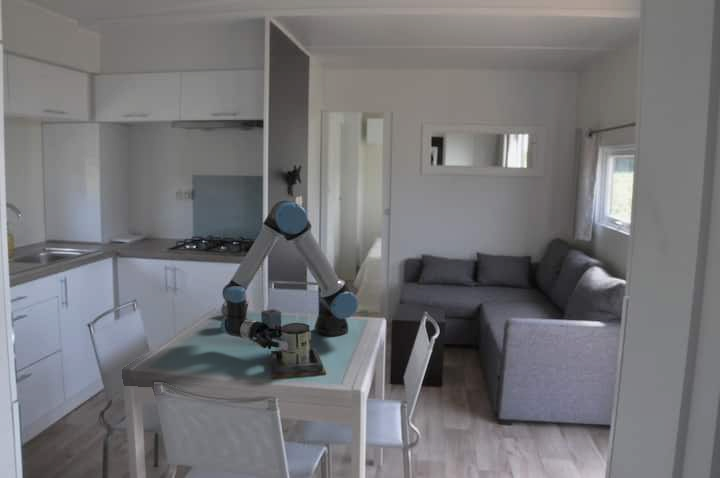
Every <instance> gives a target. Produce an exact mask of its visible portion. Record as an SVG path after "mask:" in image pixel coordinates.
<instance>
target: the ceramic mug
mask: <svg viewBox="0 0 720 478" xmlns="http://www.w3.org/2000/svg"><path fill="white" fill-rule="evenodd" d="M225 303H226V302H225V301H224V302H223V303H222V304H221V311H220V312H221V313H222V315H223V316H224V317H225V316H227V308H226V306H225Z"/></svg>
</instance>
